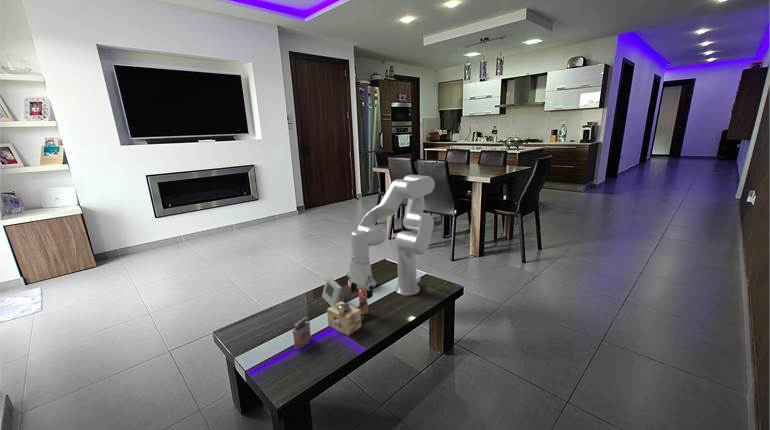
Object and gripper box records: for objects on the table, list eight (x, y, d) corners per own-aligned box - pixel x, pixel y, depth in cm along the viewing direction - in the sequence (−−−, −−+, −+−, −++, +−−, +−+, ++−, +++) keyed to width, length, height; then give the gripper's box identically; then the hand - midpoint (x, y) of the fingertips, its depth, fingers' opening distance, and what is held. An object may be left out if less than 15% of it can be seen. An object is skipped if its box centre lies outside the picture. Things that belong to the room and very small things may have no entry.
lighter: (298, 350, 123) (295, 327, 120) (292, 347, 124) (289, 324, 122) (313, 338, 129) (311, 316, 127) (307, 336, 131) (305, 314, 129)
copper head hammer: (363, 309, 148) (362, 287, 146) (369, 312, 146) (368, 289, 143) (333, 329, 134) (331, 304, 132) (339, 332, 132) (336, 307, 129)
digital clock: (321, 296, 163) (320, 277, 161) (339, 293, 166) (337, 274, 164) (327, 312, 148) (326, 291, 146) (346, 308, 152) (345, 287, 149)
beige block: (342, 317, 144) (340, 301, 142) (361, 326, 136) (360, 309, 134) (328, 325, 138) (327, 308, 136) (347, 335, 130) (346, 318, 128)
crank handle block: (349, 305, 138) (349, 294, 136) (347, 318, 128) (347, 307, 126) (338, 305, 138) (337, 295, 136) (335, 319, 127) (334, 308, 126)
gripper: (340, 256, 142) (342, 292, 146) (369, 265, 131) (370, 303, 135) (352, 252, 148) (353, 286, 151) (381, 260, 137) (381, 297, 141)
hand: (361, 294), depth 143 cm, fingers open, 9 cm apart
